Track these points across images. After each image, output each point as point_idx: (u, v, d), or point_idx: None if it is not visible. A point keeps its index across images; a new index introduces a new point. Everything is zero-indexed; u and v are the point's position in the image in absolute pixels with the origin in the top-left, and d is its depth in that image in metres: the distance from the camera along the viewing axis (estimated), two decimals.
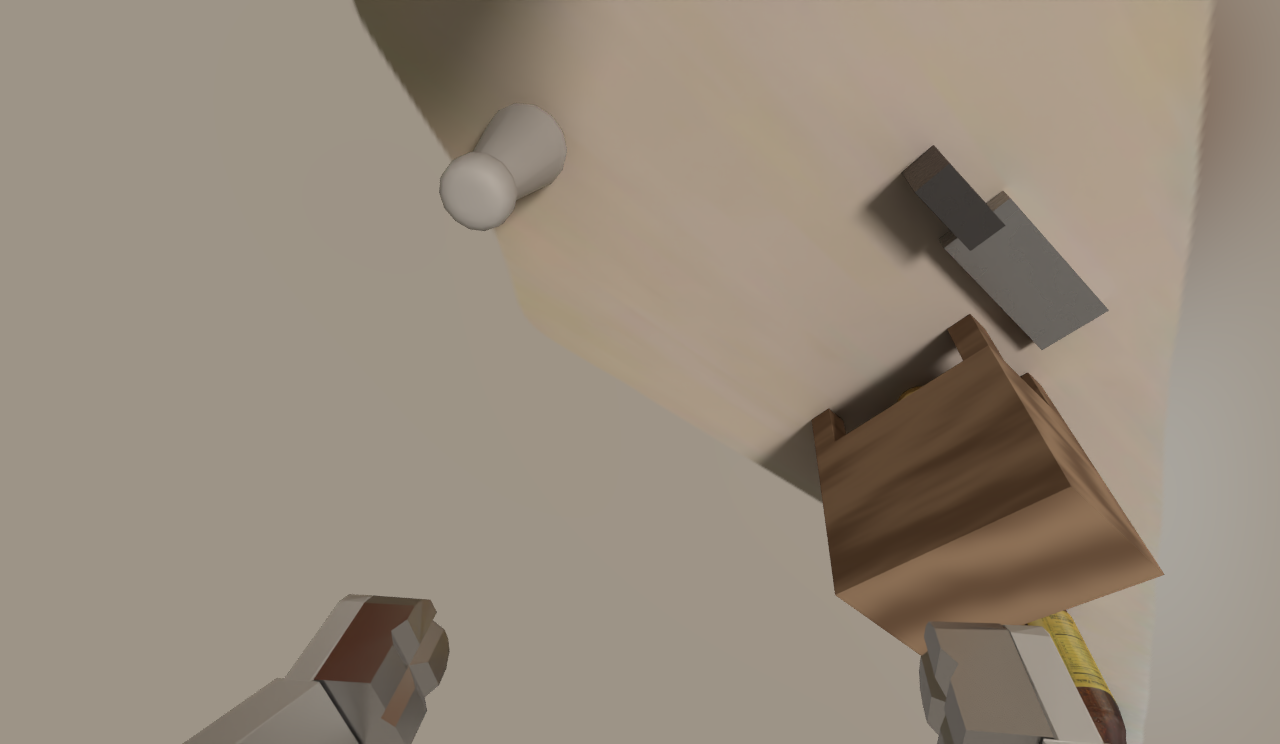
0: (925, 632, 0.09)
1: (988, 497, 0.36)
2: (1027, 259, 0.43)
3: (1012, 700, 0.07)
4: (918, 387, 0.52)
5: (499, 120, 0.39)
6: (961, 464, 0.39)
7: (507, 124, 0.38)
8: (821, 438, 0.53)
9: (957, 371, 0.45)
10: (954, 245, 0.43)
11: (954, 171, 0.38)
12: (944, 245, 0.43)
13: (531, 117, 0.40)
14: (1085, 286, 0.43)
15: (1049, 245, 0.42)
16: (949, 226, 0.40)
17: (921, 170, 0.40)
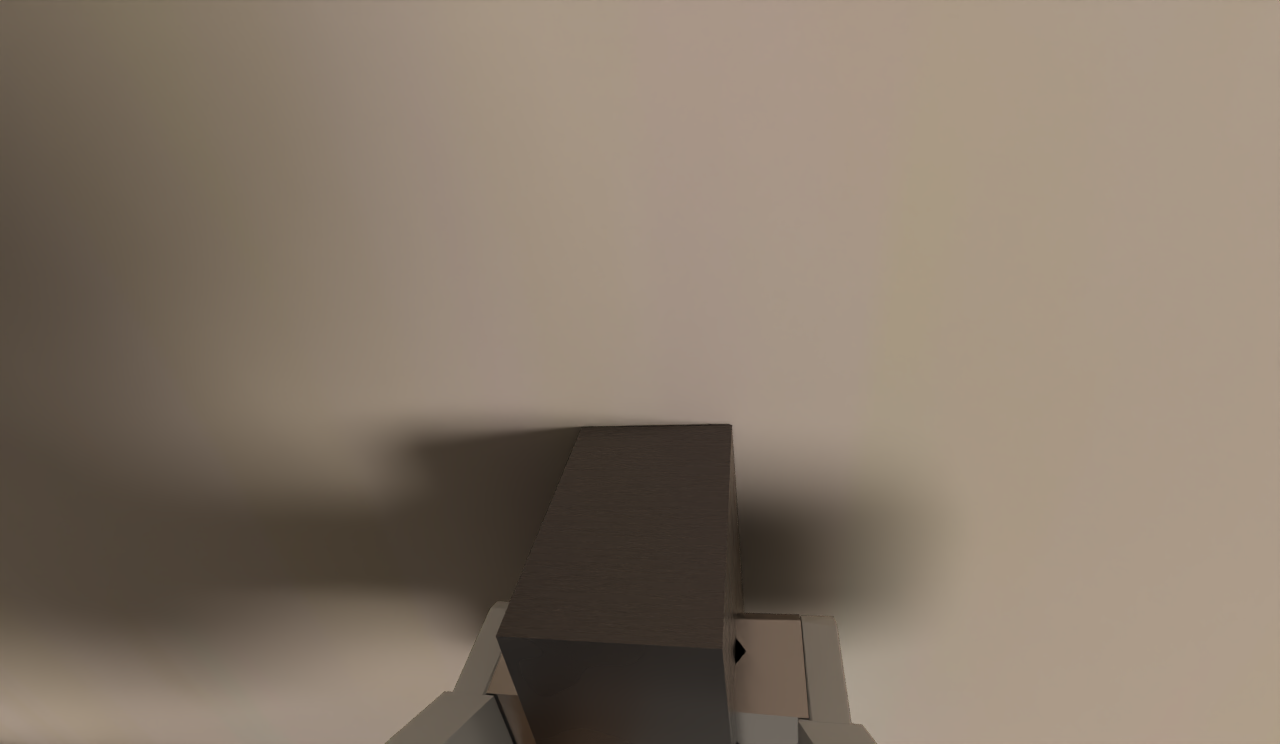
0: None
1: None
2: None
3: (783, 684, 0.08)
4: None
5: None
6: None
7: None
8: None
9: None
10: None
11: (716, 687, 0.06)
12: None
13: None
14: None
15: None
16: None
17: (619, 511, 0.08)
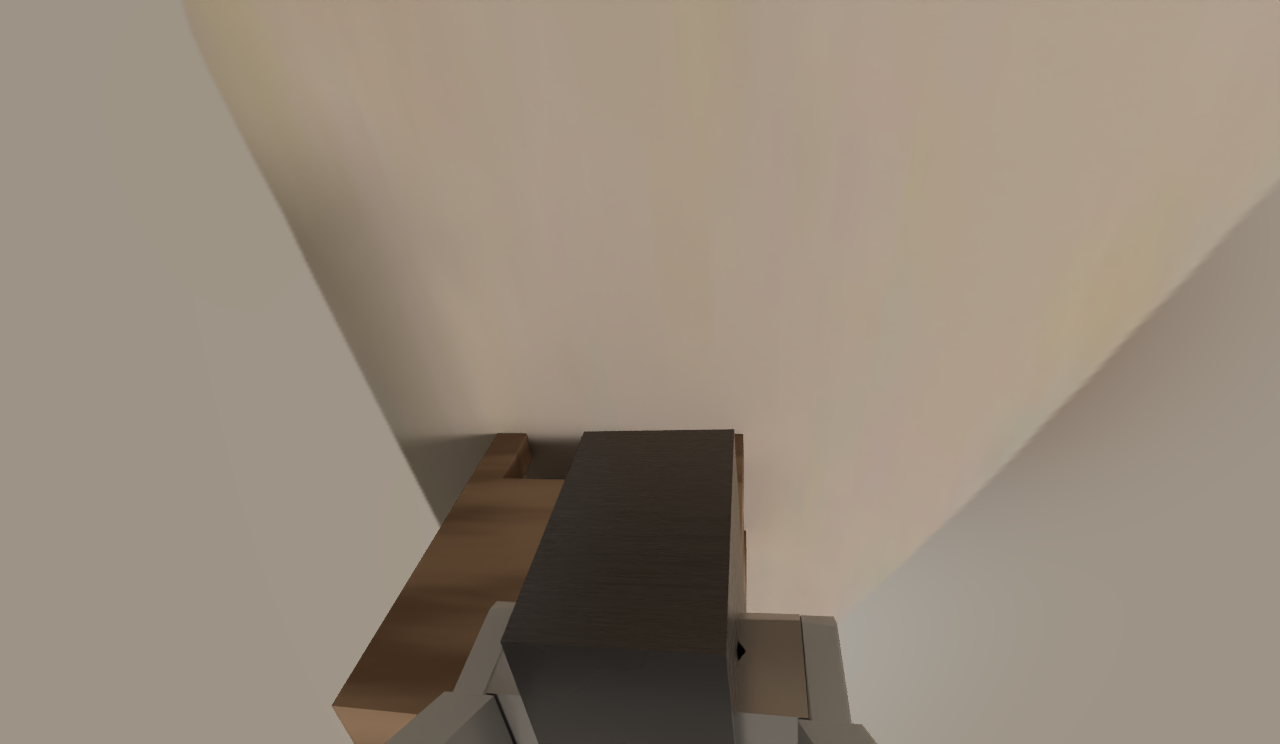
0: None
1: None
2: None
3: (783, 684, 0.08)
4: None
5: None
6: None
7: None
8: (491, 463, 0.37)
9: None
10: None
11: (720, 692, 0.07)
12: None
13: None
14: None
15: None
16: None
17: (622, 516, 0.08)
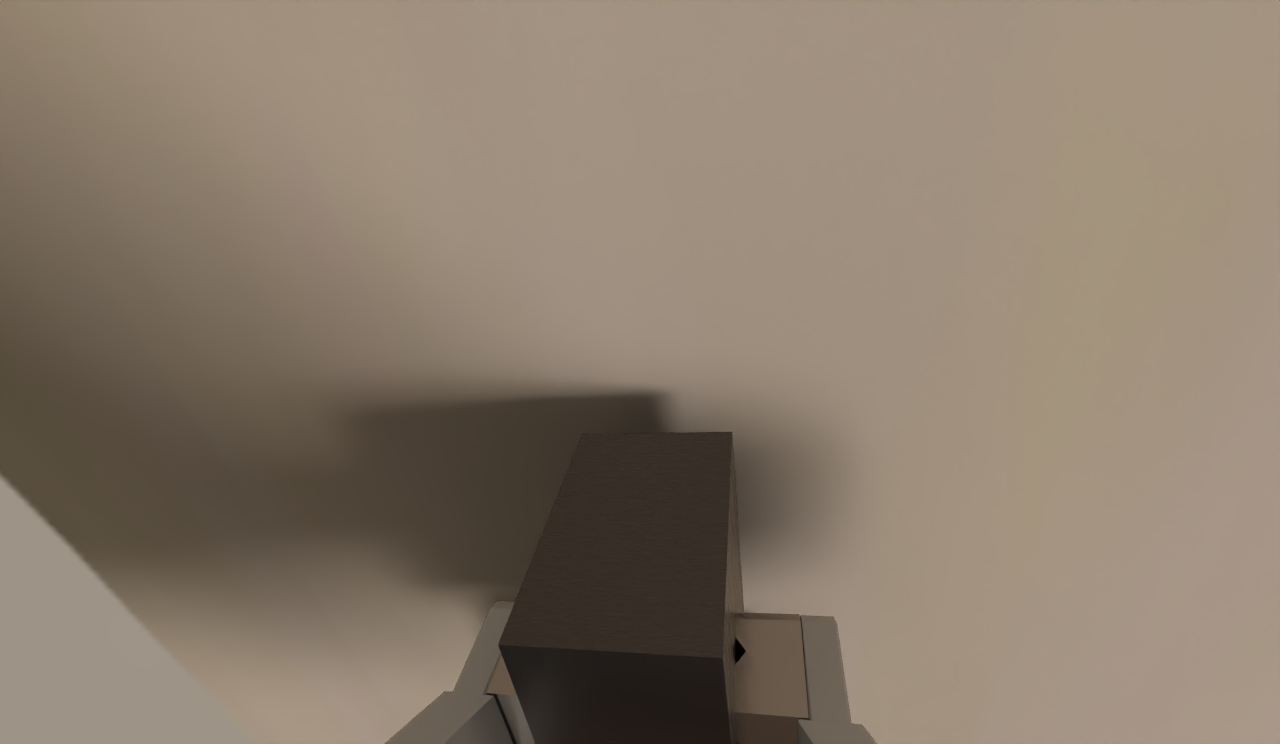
0: None
1: None
2: None
3: (783, 684, 0.08)
4: None
5: None
6: None
7: None
8: None
9: None
10: None
11: (717, 695, 0.07)
12: None
13: None
14: None
15: None
16: None
17: (620, 518, 0.08)
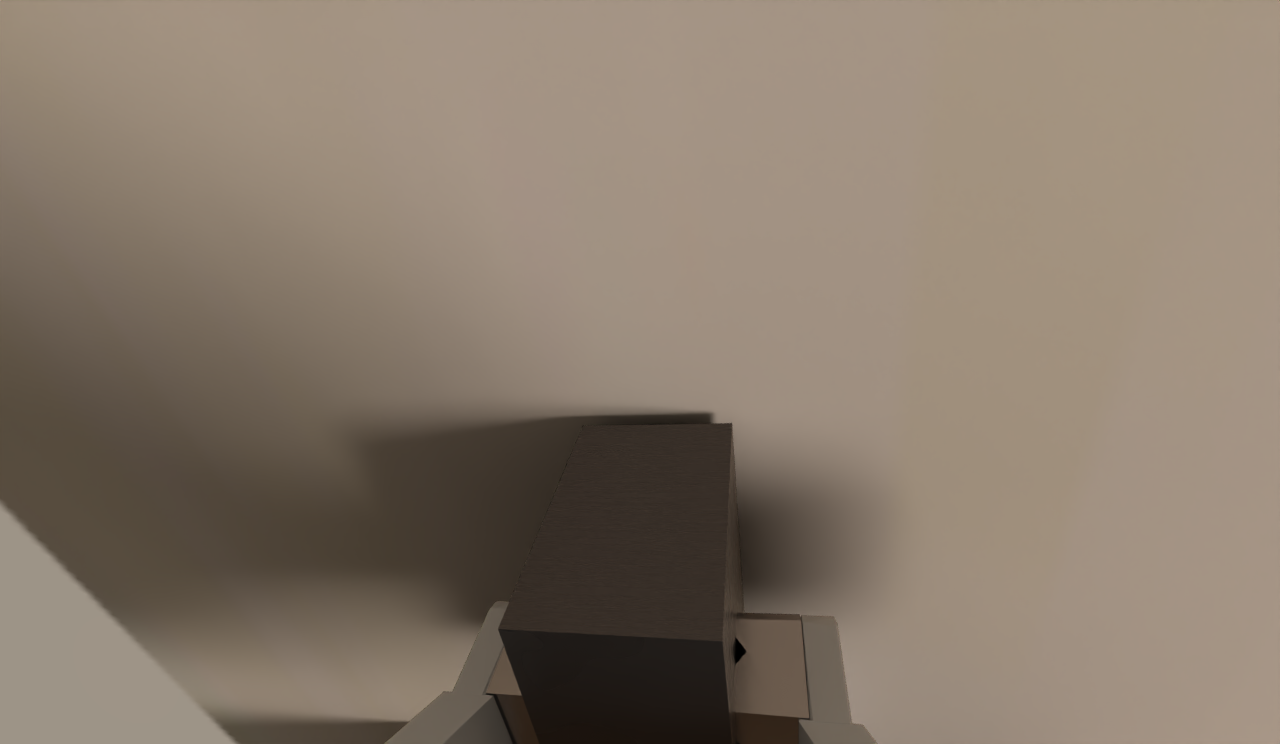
0: None
1: None
2: None
3: (783, 684, 0.08)
4: None
5: None
6: None
7: None
8: None
9: None
10: None
11: (716, 680, 0.07)
12: None
13: None
14: None
15: None
16: None
17: (620, 507, 0.08)
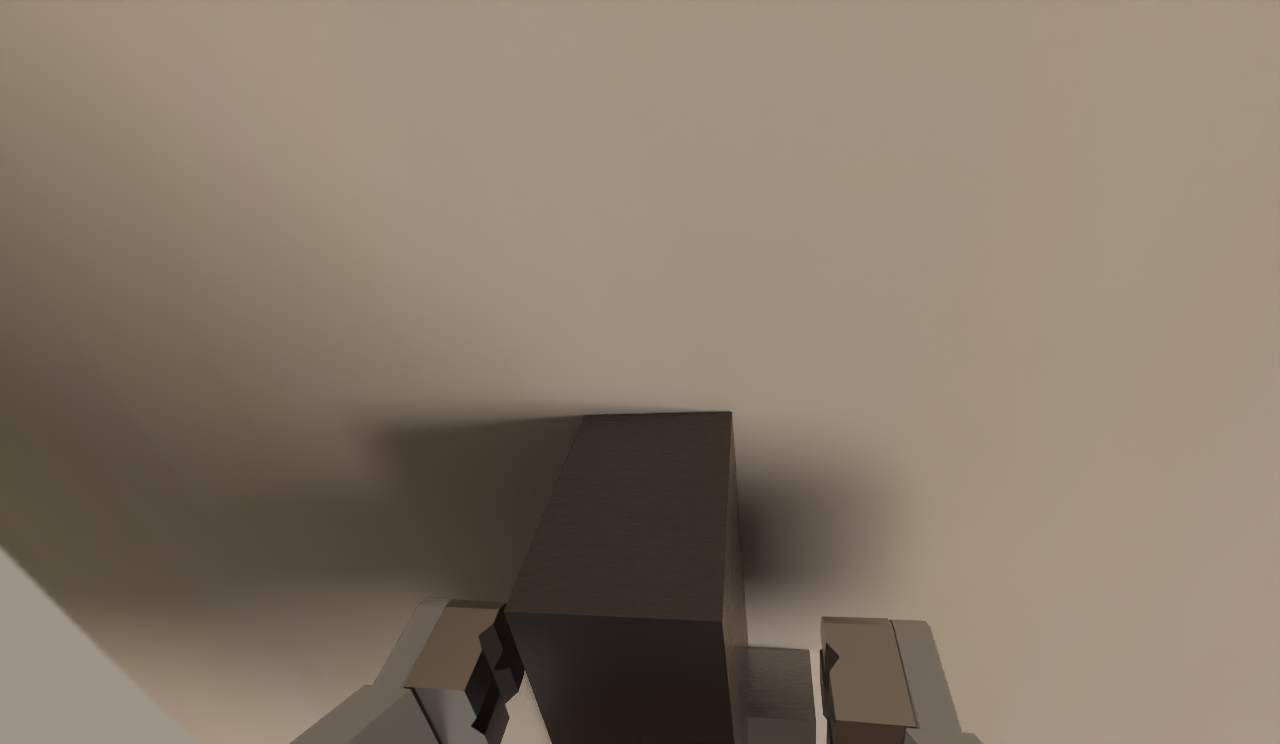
0: (821, 627, 0.09)
1: None
2: None
3: (884, 691, 0.08)
4: None
5: None
6: None
7: None
8: None
9: None
10: None
11: (717, 659, 0.07)
12: None
13: None
14: None
15: None
16: None
17: (622, 494, 0.08)
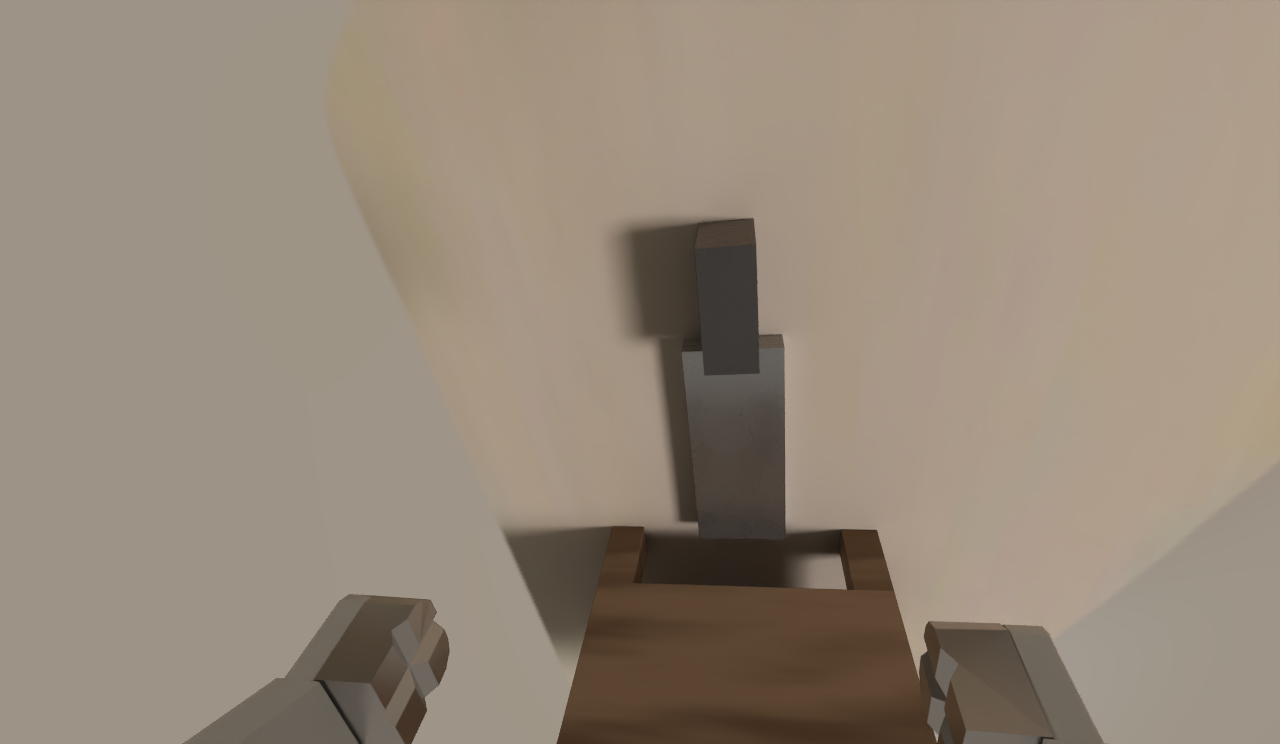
0: (925, 632, 0.09)
1: None
2: (752, 430, 0.32)
3: (1012, 700, 0.07)
4: None
5: None
6: None
7: None
8: (615, 564, 0.35)
9: (843, 600, 0.31)
10: (694, 357, 0.30)
11: (753, 259, 0.25)
12: (684, 349, 0.30)
13: None
14: (783, 499, 0.33)
15: (782, 431, 0.31)
16: (702, 326, 0.26)
17: (720, 233, 0.26)
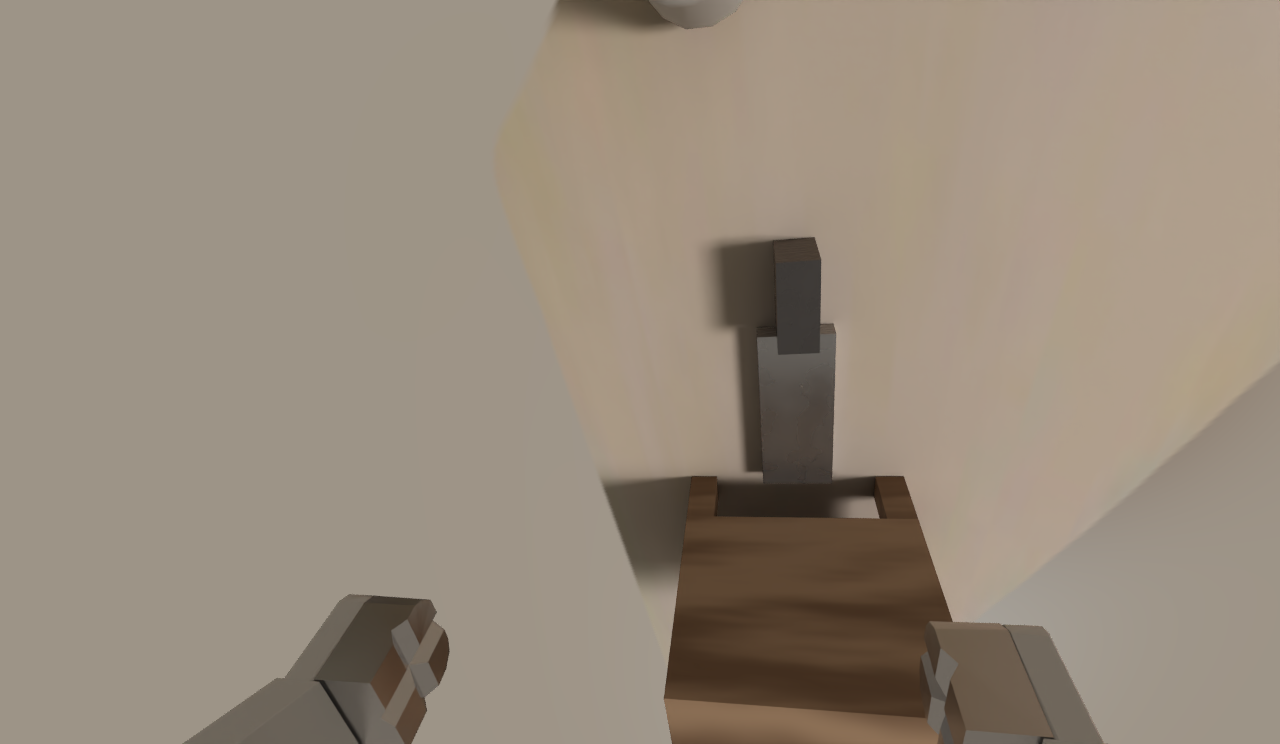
0: (925, 632, 0.09)
1: (887, 682, 0.32)
2: (809, 397, 0.41)
3: (1012, 700, 0.07)
4: None
5: None
6: (863, 627, 0.35)
7: None
8: (698, 503, 0.45)
9: (878, 526, 0.41)
10: (766, 341, 0.40)
11: (819, 270, 0.34)
12: (758, 335, 0.40)
13: None
14: (831, 451, 0.43)
15: (832, 397, 0.41)
16: (778, 318, 0.36)
17: (792, 249, 0.36)
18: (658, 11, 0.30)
